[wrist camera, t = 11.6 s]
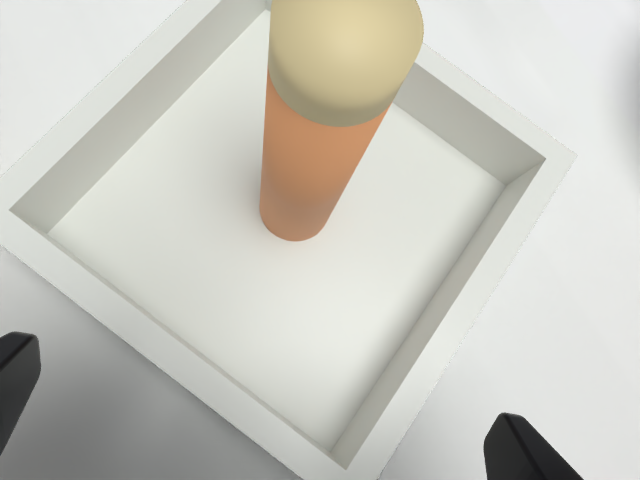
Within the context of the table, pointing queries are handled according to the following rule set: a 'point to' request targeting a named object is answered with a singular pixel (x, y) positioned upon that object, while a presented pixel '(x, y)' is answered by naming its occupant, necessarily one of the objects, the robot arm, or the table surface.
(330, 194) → the pin
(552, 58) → the table surface
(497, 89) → the table surface
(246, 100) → the tray
